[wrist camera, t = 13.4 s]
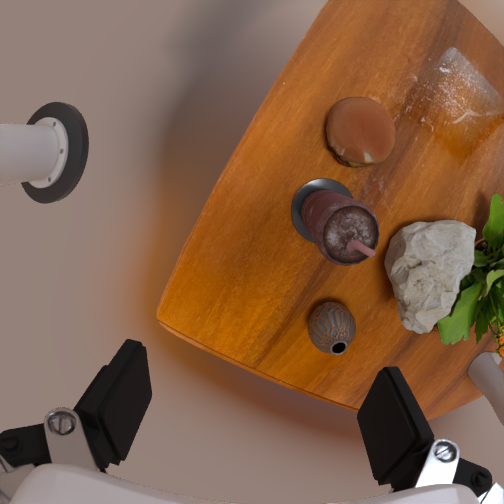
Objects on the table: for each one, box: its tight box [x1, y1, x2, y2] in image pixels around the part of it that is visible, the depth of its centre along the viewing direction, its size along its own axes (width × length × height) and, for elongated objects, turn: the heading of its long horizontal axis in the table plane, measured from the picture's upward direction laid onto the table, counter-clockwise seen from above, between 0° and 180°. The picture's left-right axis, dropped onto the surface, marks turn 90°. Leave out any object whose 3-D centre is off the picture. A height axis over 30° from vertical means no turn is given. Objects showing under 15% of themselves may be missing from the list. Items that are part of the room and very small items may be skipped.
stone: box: [384, 220, 476, 334], centre depth 32 cm, size 16×10×15 cm, turn 106°
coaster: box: [291, 178, 353, 243], centre depth 37 cm, size 9×9×1 cm
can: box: [301, 189, 379, 266], centre depth 30 cm, size 6×6×14 cm
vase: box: [308, 302, 356, 355], centre depth 37 cm, size 7×7×9 cm
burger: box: [325, 97, 395, 167], centre depth 31 cm, size 10×9×5 cm
